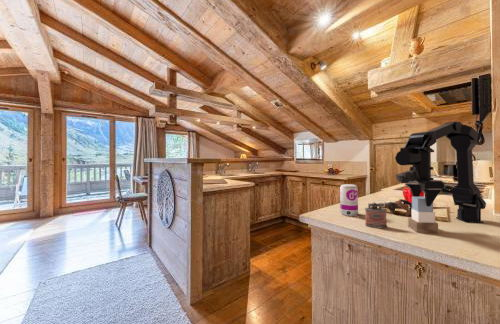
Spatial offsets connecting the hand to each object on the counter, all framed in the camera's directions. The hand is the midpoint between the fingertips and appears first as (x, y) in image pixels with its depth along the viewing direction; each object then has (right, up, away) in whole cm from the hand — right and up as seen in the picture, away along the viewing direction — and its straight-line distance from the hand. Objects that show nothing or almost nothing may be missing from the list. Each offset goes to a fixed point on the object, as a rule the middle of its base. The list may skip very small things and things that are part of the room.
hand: (421, 203), depth 87 cm
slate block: (0, -3, 0) cm, 3 cm away
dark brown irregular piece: (+7, -10, +23) cm, 26 cm away
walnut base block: (0, -11, 0) cm, 11 cm away
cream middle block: (0, -7, 0) cm, 7 cm away
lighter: (-15, -11, +6) cm, 19 cm away
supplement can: (-17, -10, +25) cm, 32 cm away
